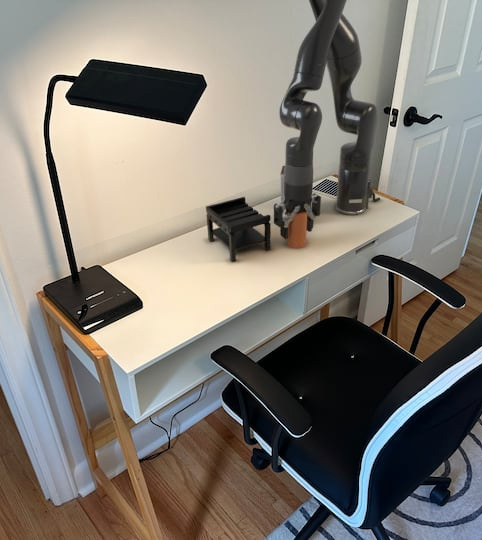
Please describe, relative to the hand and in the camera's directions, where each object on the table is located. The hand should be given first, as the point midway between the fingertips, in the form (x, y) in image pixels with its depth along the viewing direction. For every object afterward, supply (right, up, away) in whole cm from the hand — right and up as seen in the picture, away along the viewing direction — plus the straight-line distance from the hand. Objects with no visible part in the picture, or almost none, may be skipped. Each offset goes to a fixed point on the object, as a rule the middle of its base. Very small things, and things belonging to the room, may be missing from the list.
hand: (296, 234), depth 142 cm
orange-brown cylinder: (0, -3, +2) cm, 3 cm away
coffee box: (0, +5, +14) cm, 15 cm away
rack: (-16, -3, +1) cm, 16 cm away
